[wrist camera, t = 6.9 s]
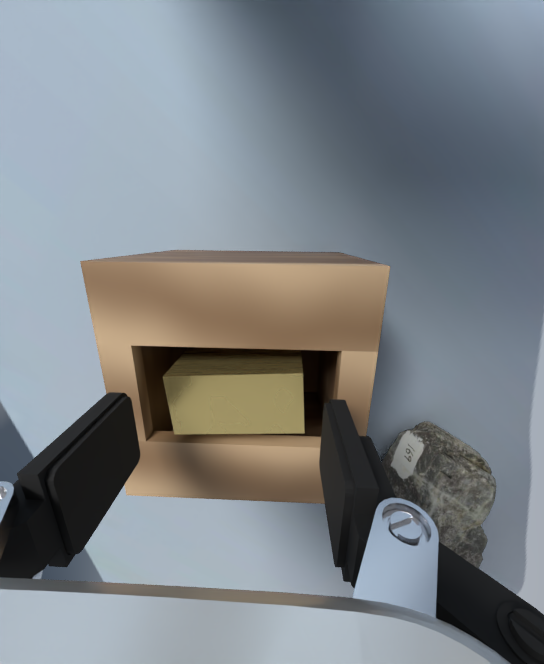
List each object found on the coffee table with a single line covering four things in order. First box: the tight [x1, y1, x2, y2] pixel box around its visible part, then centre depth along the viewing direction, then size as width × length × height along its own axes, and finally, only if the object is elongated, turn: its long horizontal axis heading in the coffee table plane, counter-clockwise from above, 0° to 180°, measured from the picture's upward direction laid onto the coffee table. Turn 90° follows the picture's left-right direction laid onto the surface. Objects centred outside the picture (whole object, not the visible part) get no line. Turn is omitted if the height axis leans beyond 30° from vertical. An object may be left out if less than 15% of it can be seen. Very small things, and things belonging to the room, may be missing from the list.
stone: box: [382, 421, 496, 568], centre depth 24 cm, size 14×7×10 cm, turn 3°
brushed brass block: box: [163, 347, 305, 434], centre depth 15 cm, size 3×6×6 cm, turn 93°
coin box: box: [80, 250, 390, 504], centre depth 18 cm, size 12×12×10 cm
